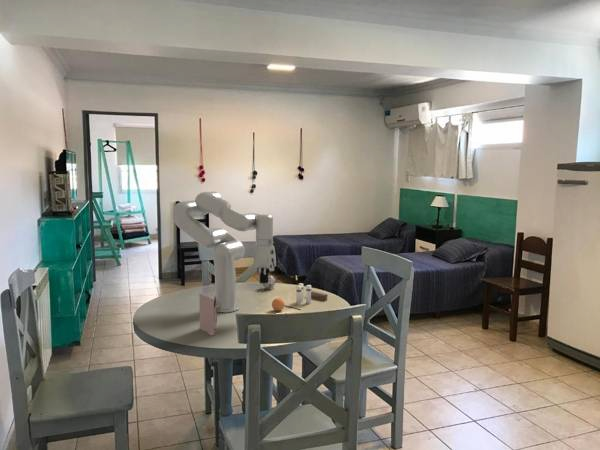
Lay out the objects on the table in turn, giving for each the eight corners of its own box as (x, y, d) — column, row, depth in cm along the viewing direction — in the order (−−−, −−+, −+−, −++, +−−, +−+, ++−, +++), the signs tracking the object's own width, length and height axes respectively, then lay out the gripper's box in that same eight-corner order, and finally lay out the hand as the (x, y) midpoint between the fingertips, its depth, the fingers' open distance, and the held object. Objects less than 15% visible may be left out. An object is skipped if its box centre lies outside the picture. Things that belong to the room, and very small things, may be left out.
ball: (278, 313, 221) (278, 300, 221) (269, 310, 225) (269, 298, 224) (287, 310, 226) (287, 298, 225) (277, 308, 230) (277, 295, 229)
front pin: (299, 305, 235) (299, 287, 234) (295, 304, 237) (295, 286, 236) (302, 304, 237) (302, 286, 236) (298, 303, 239) (298, 285, 238)
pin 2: (308, 304, 237) (309, 286, 236) (304, 303, 239) (305, 285, 238) (311, 303, 239) (312, 285, 238) (308, 302, 240) (308, 284, 239)
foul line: (300, 310, 227) (300, 309, 227) (278, 304, 236) (278, 304, 236) (301, 309, 227) (301, 309, 227) (279, 304, 236) (279, 303, 236)
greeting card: (215, 336, 189) (215, 299, 188) (196, 336, 189) (196, 299, 187) (218, 327, 201) (218, 292, 199) (200, 327, 200) (200, 292, 198)
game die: (270, 296, 265) (273, 284, 259) (257, 290, 267) (259, 278, 260) (277, 285, 272) (280, 273, 265) (263, 279, 273) (266, 267, 267)
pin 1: (301, 302, 240) (301, 284, 239) (297, 301, 242) (297, 283, 241) (304, 301, 242) (304, 283, 241) (300, 300, 244) (300, 283, 243)
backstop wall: (324, 300, 243) (325, 295, 243) (306, 296, 251) (306, 291, 251) (327, 300, 245) (327, 294, 245) (309, 296, 252) (309, 290, 252)
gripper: (282, 243, 212) (282, 284, 214) (258, 239, 222) (258, 278, 224) (271, 245, 207) (270, 286, 209) (246, 241, 216) (246, 281, 219)
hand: (264, 282), depth 216 cm, fingers closed
